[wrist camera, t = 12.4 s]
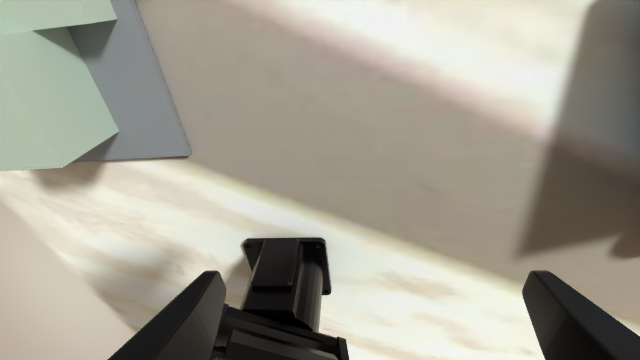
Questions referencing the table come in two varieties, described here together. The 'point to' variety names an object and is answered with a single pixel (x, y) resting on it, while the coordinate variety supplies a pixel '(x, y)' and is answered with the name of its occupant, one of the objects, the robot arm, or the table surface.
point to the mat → (129, 88)
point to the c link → (48, 84)
